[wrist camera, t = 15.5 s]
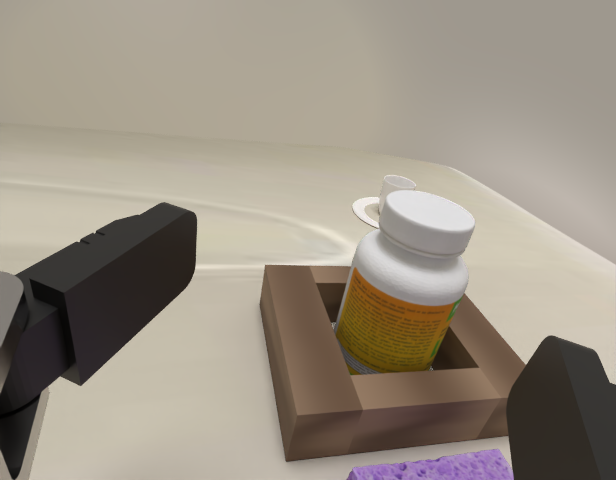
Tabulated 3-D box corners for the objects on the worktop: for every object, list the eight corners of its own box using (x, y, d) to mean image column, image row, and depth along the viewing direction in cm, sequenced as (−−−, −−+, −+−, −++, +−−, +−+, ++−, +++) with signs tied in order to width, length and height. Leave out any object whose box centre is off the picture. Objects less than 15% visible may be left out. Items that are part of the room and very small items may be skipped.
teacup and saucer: (430, 251, 36) (445, 210, 34) (344, 228, 37) (354, 188, 35) (427, 213, 43) (439, 178, 41) (356, 195, 44) (365, 160, 42)
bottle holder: (286, 461, 16) (297, 415, 15) (259, 304, 25) (265, 264, 23) (521, 433, 20) (550, 393, 18) (428, 303, 28) (443, 268, 27)
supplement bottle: (430, 414, 20) (512, 250, 15) (325, 393, 20) (373, 223, 15) (415, 338, 25) (474, 196, 20) (330, 322, 25) (368, 175, 20)
